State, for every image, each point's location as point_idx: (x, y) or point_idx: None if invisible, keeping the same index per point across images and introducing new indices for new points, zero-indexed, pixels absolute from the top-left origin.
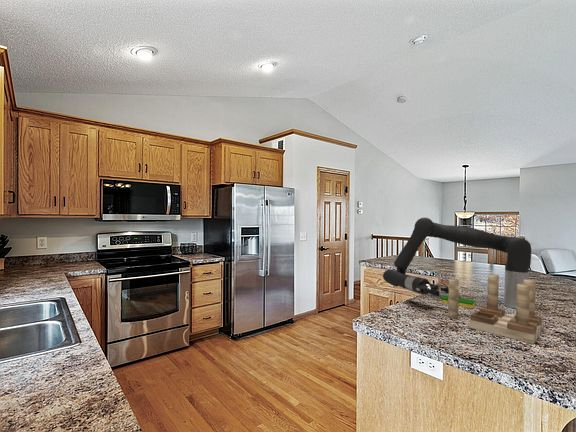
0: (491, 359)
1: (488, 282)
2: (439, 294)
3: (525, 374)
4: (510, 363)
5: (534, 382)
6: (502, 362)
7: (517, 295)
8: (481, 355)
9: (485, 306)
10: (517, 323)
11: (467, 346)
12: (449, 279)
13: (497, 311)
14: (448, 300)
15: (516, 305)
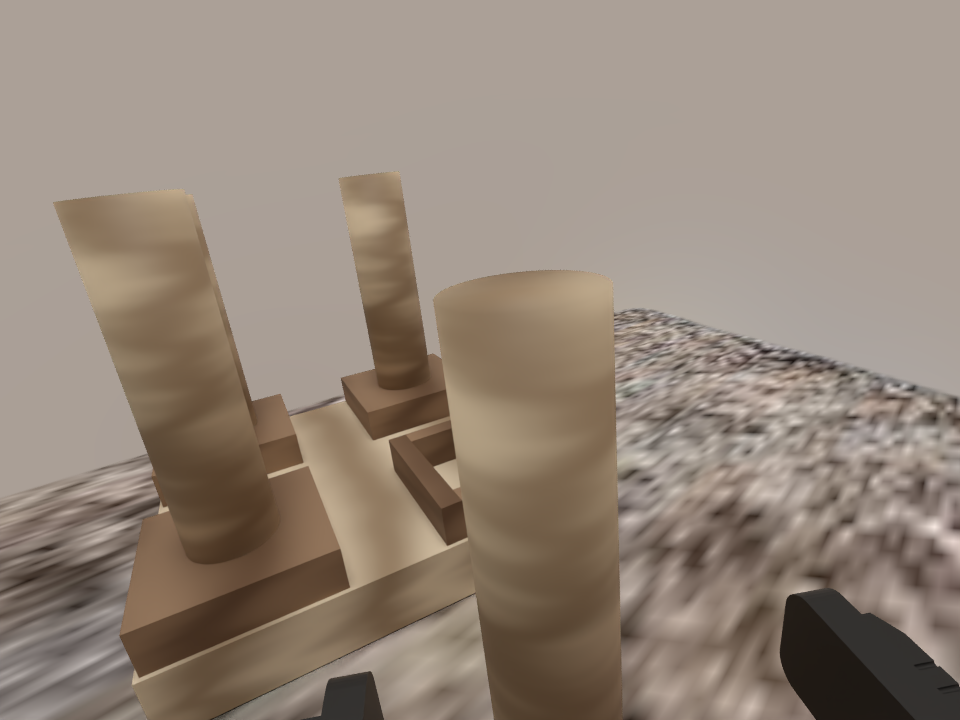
0: (713, 357)
1: (192, 283)
2: (782, 641)
3: (666, 329)
4: (665, 349)
5: (672, 319)
6: (687, 351)
7: (404, 236)
8: (735, 368)
9: (199, 586)
10: (429, 378)
11: (757, 400)
12: (593, 294)
13: (289, 486)
14: (614, 641)
15: (408, 296)
